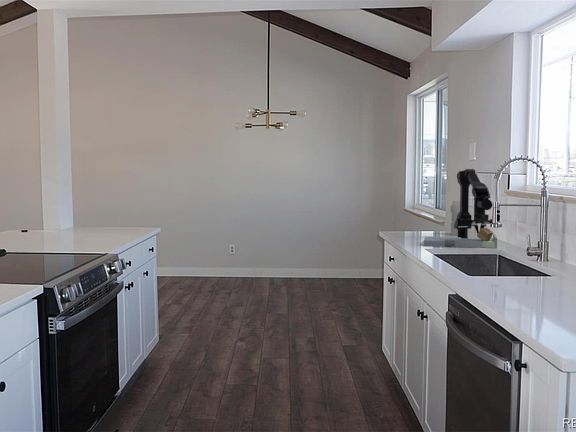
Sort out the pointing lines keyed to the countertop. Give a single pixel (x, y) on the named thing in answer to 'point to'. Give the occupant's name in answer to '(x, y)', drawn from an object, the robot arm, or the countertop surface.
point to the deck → (460, 242)
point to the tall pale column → (455, 216)
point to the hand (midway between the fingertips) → (479, 237)
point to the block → (485, 234)
